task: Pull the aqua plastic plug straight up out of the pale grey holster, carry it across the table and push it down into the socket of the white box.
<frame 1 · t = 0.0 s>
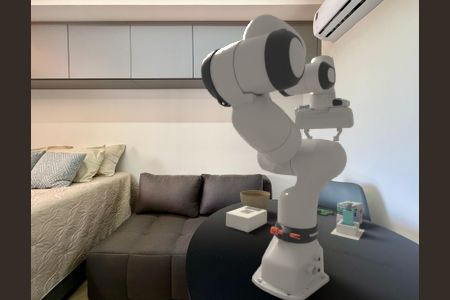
hand: (322, 141, 86), 39 cm above the table, tool pointing down, fingers open, 8 cm apart
planter bowl: (254, 213, 126), on the table
white box: (246, 224, 108), on the table
holster: (347, 235, 96), on the table
plug: (347, 231, 96), point 1 cm above the table, touching holster
light bulb box: (349, 226, 108), on the table
disk drive: (316, 215, 126), on the table
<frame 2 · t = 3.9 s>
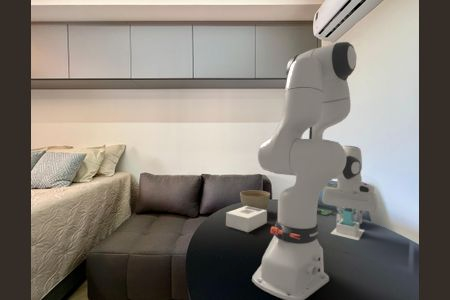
hand: (348, 218, 96), 7 cm above the table, tool pointing down, fingers closed on plug, 3 cm apart
plug: (347, 231, 96), point 2 cm above the table, touching gripper, holster
everything else where it was.
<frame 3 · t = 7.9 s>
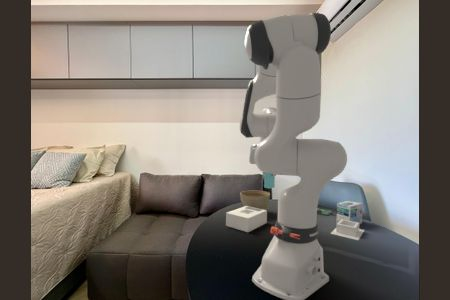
hand: (269, 175, 105), 23 cm above the table, tool pointing down, fingers closed on plug, 3 cm apart
plug: (269, 187, 105), point 18 cm above the table, touching gripper
everything else where it was.
when the fingers open (8 cm above the table, at t = 12.0 s): plug stays where it is, resting on white box.
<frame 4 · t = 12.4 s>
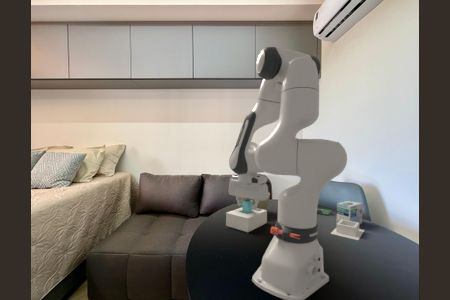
hand: (247, 207, 108), 8 cm above the table, tool pointing down, fingers open, 7 cm apart
plug: (247, 219, 108), point 2 cm above the table, touching white box
everything else where it was.
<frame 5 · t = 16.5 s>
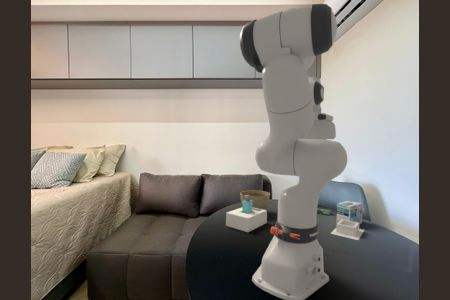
hand: (309, 150, 98), 35 cm above the table, tool pointing down, fingers open, 8 cm apart
at the end: plug 0.2 cm off-centre on the white box, point 2.0 cm above the white box's base; plug tilted 0°; the gripper is holding nothing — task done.
